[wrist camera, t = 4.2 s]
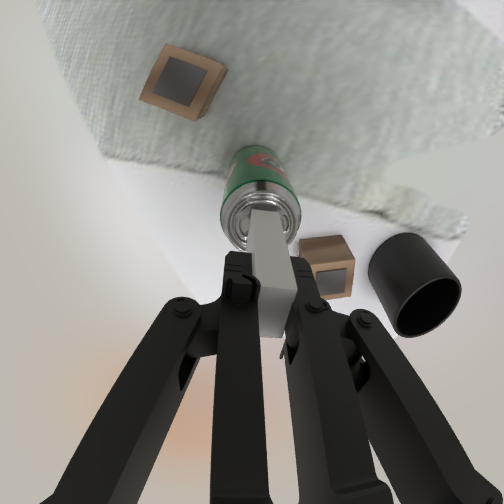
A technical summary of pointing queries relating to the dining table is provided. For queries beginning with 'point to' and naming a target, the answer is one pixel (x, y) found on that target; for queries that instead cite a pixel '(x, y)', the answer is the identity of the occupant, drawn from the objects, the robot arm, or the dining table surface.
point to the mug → (413, 285)
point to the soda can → (257, 195)
